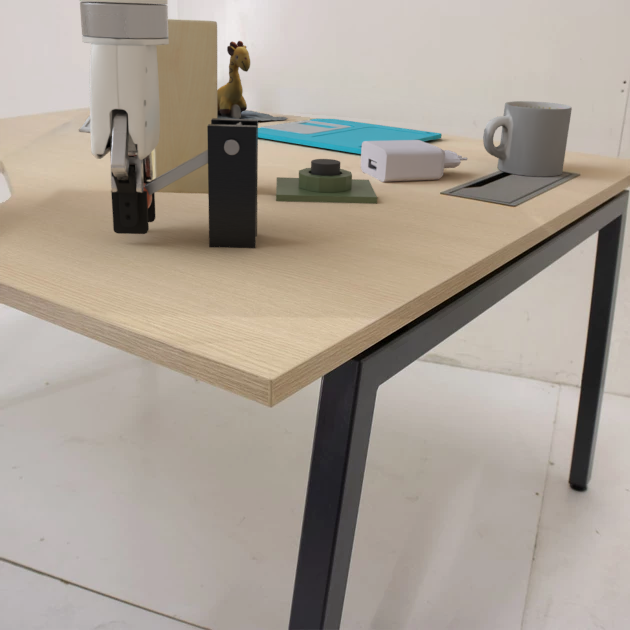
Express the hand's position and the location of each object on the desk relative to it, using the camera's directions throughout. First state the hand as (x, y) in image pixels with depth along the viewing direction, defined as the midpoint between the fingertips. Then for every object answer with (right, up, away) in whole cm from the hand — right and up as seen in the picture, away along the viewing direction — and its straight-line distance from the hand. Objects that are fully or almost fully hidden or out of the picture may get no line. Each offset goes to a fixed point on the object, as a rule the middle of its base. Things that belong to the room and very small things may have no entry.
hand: (135, 225), depth 77 cm
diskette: (+23, +24, +72) cm, 79 cm away
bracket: (+9, -3, +1) cm, 10 cm away
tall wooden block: (0, +7, +27) cm, 28 cm away
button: (+19, +9, +21) cm, 29 cm away
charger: (+33, +12, +42) cm, 54 cm away
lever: (+6, +4, -1) cm, 7 cm away
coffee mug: (+50, +14, +48) cm, 70 cm away
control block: (+19, +5, +22) cm, 30 cm away
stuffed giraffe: (0, +33, +93) cm, 99 cm away
